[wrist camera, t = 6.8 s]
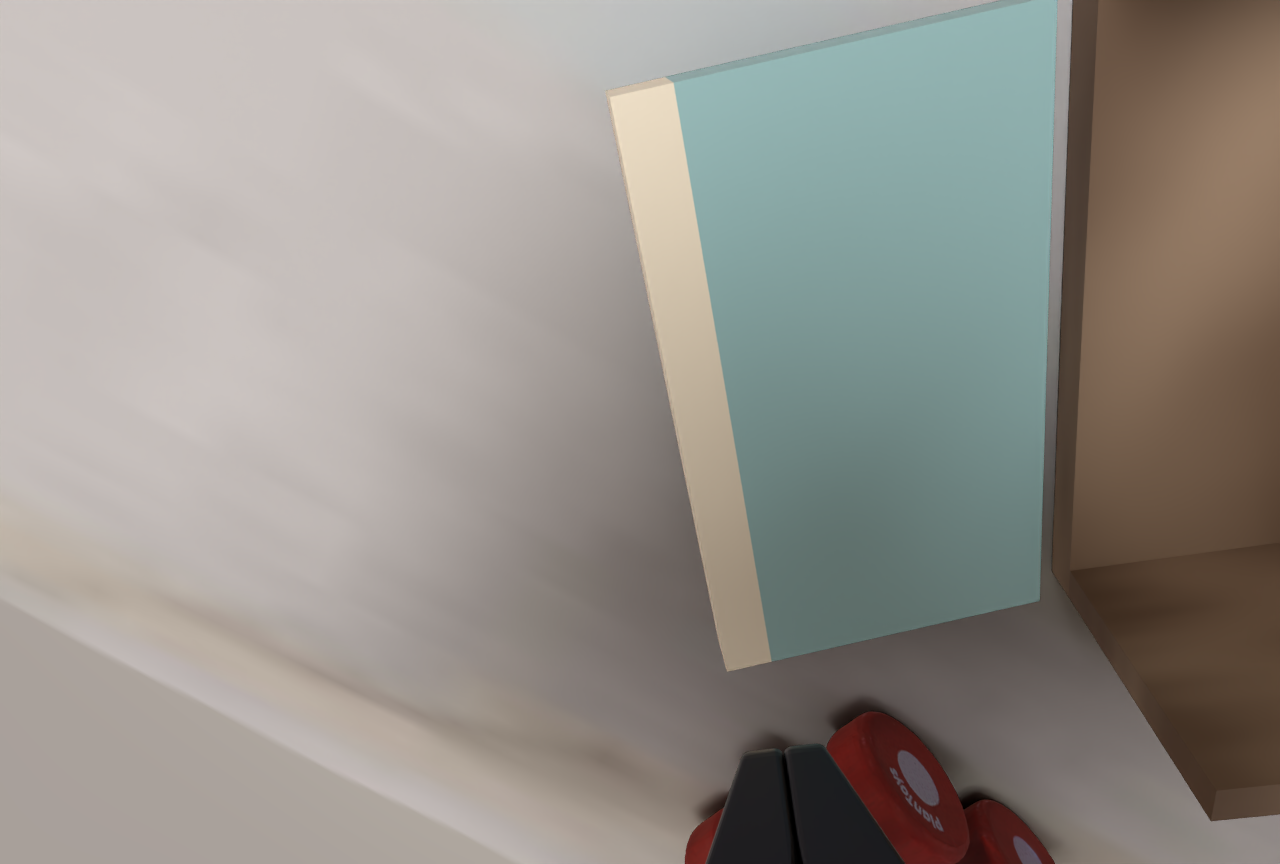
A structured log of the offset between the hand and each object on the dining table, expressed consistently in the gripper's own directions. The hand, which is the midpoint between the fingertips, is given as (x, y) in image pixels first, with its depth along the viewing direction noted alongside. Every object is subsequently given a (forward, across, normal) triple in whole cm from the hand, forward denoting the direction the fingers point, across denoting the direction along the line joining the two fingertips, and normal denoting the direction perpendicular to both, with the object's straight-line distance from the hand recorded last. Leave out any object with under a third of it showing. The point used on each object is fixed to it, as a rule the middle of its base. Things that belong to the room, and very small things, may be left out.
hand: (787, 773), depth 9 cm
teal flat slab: (+10, -6, 0) cm, 11 cm away
